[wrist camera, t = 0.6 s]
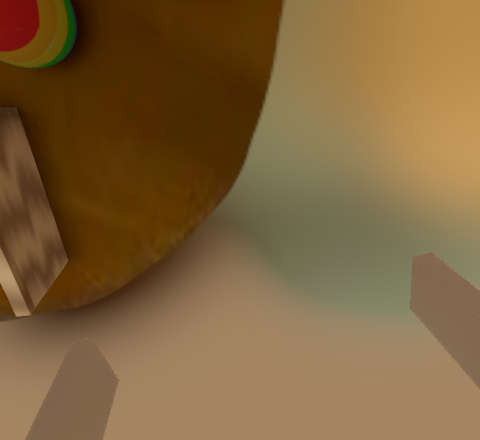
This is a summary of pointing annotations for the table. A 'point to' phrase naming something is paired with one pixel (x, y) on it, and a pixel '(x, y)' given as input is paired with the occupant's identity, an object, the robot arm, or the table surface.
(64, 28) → the decorative egg
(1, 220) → the brown wooden frame
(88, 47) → the table surface
